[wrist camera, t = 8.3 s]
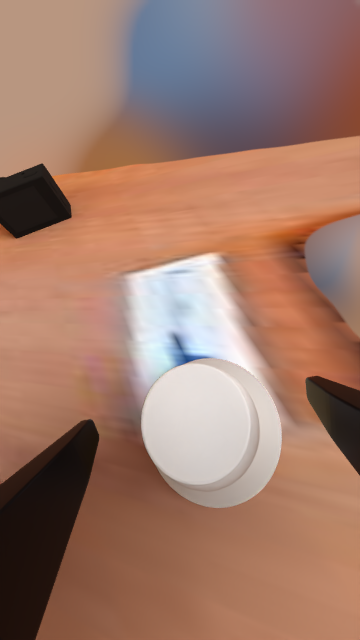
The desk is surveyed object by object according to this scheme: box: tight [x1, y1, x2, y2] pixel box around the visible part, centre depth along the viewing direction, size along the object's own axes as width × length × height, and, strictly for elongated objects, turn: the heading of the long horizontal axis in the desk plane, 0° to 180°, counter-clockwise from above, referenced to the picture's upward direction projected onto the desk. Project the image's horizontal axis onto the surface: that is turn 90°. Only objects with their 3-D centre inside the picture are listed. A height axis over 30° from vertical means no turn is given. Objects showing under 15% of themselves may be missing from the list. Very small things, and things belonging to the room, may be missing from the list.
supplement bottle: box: [141, 363, 260, 492], centre depth 12 cm, size 5×5×10 cm
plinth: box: [156, 358, 282, 508], centre depth 17 cm, size 10×10×2 cm
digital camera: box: [0, 164, 72, 238], centre depth 35 cm, size 10×5×7 cm, turn 108°
